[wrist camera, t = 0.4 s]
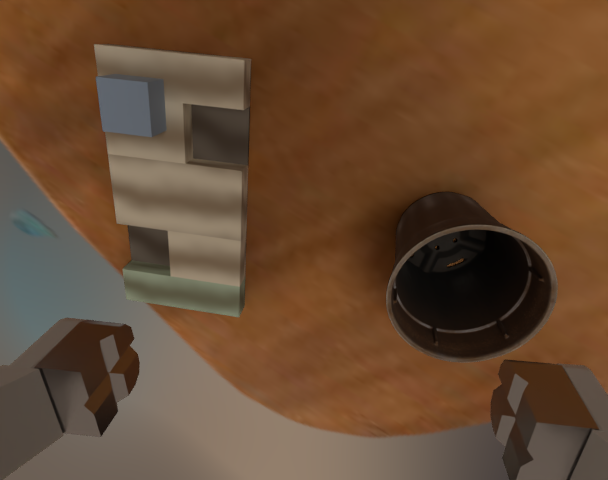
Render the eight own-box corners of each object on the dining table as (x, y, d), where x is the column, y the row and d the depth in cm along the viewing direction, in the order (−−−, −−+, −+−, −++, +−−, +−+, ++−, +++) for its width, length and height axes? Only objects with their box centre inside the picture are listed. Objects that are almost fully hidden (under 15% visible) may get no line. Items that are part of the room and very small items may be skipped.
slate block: (115, 73, 49) (95, 76, 46) (163, 79, 49) (147, 82, 45) (120, 124, 52) (102, 131, 49) (166, 130, 52) (151, 137, 48)
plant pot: (465, 148, 51) (504, 191, 36) (530, 244, 55) (589, 317, 40) (357, 221, 57) (354, 283, 42) (424, 302, 61) (441, 384, 46)
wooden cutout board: (108, 44, 51) (93, 44, 48) (251, 58, 49) (244, 60, 47) (136, 288, 67) (126, 299, 64) (244, 305, 66) (239, 317, 63)
